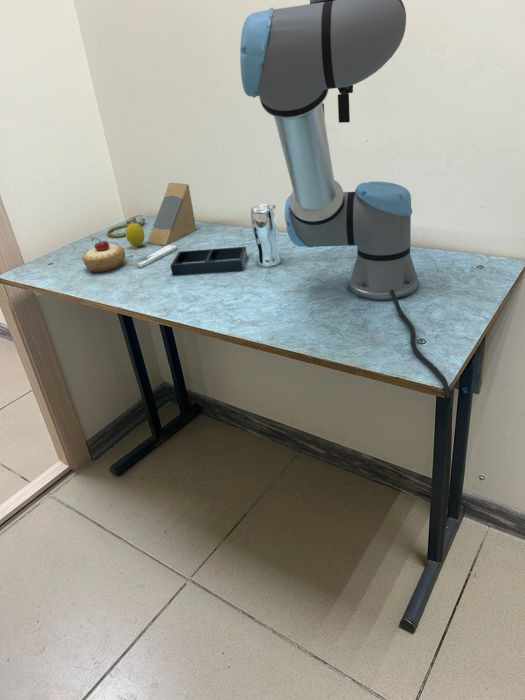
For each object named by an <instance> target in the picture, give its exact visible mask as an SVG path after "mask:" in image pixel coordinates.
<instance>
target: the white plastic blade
mask: <svg viewBox="0 0 525 700" xmlns="http://www.w3.org/2000/svg"><path fill="white" fill-rule="evenodd" d="M177 249H178V247H177V246H176V245H174V244H172V245H171V244H167V245H164V246H163V247H162V248H159V249H158V250H156V251H154V252H152V253H150V254H147V255H146V256H144V257H142V258H141V260H143V261H140V262H138V263H137V265H136V266H137V267H138V268H144V267H145V266H147V265H149V264H151V263H153V262H154V261H157V260H159V259H161V258H162V257H165V256H167V255H168V254H170V253H173V252H174V251H176V250H177ZM144 259H145V260H144Z"/></svg>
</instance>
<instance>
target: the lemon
mask: <svg viewBox="0 0 525 700" xmlns="http://www.w3.org/2000/svg"><path fill="white" fill-rule="evenodd" d="M125 233H126V236H125V238H126V240H127V242H128V243H129V244H130V245H131V246H134V247H136V248H140V246H141V245H142V244H143V243H144V242H145V231H144V229H143V227H142V225H139V223H136V222H134V223H133V222H131V224H129V225H127V227H125Z"/></svg>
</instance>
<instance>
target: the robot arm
mask: <svg viewBox="0 0 525 700" xmlns="http://www.w3.org/2000/svg"><path fill="white" fill-rule="evenodd" d="M406 27H407V11H406V8H405V4H404V2H403V0H309V3H308V4H302V5H294V6H288V7H281V8H274V7H269V9H266V10H265V9H264V10H261V11H260V10H259V11H254V12H251V13H250V14H249V15H248V16H247V17H246V18H245V19H244V22H243V25H242V28H241V29H242V30H241V36H240V47H239V48H240V50H239V63H240V76H241V77H240V78H241V85H242V88H243V92H244V94H245V95H246V96H248V97H252V98H256V97H259V101H260V104H261V107H262V109H263V110H264V112H266V113H267V114H269V115H270V116H272V117H273V118H274V122H275V125H276V128H277V133H278V137H279V141H280V145H281V149H282V153H283V157H284V161H285V164H286V167H287V168H286V169H287V172H288V175H289V180H290V183H291V187H292V191H291V193H290V195H289V196H288V197H287V198H286V201H285V204H284V221H285V224H286V232H287V236H288V237H289V240H290V241H291V242H292V244H293V245H295V246H296V247H306V248H318V247H347V246H349V247H350V246H356V247H357V248H356V249H357V256H356V260H355V263H354V266H353V269H352V272H351V276H350V279H349V283H350V285H349V286H350V290H351V292H352V293H353V294H355V295H356V296H358V297H361V298H364V299H367V300H374V301H393V303H394V306H395V309H396V311H397V313H398V315H399V316H400V318H401V319H402V321H403V322H404V323H405V325H406V326H407V327H408V330H409V332H410V347H411V349H412V352H413V354H414V355H415V357H417V359H419V360H420V361H421V363H423V364H424V365H426V367H428V368H429V369H430V370H431V371H432V373H433V374H434V375H435V376H436V377H437V378H438V380H439V381H440V382H441V385H442V386H443V390H444V394H445V397H446V398H452V393H451V392H452V391H451V388H450V386H449V382H448V380H447V378H446V377H445V375H444V374H443V373H442V372H441V371H440V370H439V369H438V367H437V366H436V365H435V364H433V363H432V362H431V361H430V360H429V359H428V358H426V357H425V355H423V354H422V353H421V352H420V350H419V348H418V347H417V342H416V329H415V327H414V325H413V323H412V322H411V321H410V319H409V318H408V317H407V315H406V314H405V313H404V311H403V309H402V308H401V305H400V301H399V300H398V299H401V298H405V297H408V296H409V295H411V294H413V293H414V292H415V291H416V290H417V288H418V281H419V280H418V274H417V271H416V268H415V264H414V262H413V259H412V256H411V231H412V230H411V228H412V227H411V226H412V224H411V223H412V221H411V220H412V214H413V208H412V195H411V193H410V191H409V189H407V188H406V187H405V186H403V185H401V184H397V183H395V182H394V183H393V182H389V181H368V182H361V183H359V184H357V185H356V187H355V189H354V191H344V190H343V187H342V186H341V184H340V183H339V182H338V181H337V180H336V179H335V176H334V170H333V164H332V157H331V151H330V145H329V139H328V138H329V137H328V132H327V125H326V118H325V117H326V116H325V103H324V101H325V100H326V98H327V96H328V93H329V90H331V89H332V90H333V89H337V91H338V92H339V93H338V94H337V110H338V111H337V114H338V123H339V124H340V123H342V124H343V123H344V124H345V123H350V121H351V117H350V113H351V112H350V94H353V93H354V86H355V85H357V84H359V83H361V82H363V81H366V80H367V79H368V78H369V77H371V76H373V75H374V74H375V73H377V72H378V71H379V70H380V69H382V68H383V67H384V66H385V65H386V63H388V61H390V60H391V58H392V57H393V56H394V54H396V52H397V51H398V49H399V47H400V45H401V43H402V42H403V39H404V37H405V33H406ZM445 443H446V445H445V447H446V449H445V468H444V470H445V471H444V483H443V496H442V506H441V507H442V508H441V519H440V529H439V541H438V551H437V553H438V554H437V561H438V563H442V562H443V557H444V545H445V536H446V526H447V525H446V524H447V515H448V505H449V496H450V495H449V494H450V484H451V483H450V482H451V472H452V471H451V469H452V448H453V447H452V444H453V408H447V409H446V442H445Z"/></svg>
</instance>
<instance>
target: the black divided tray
mask: <svg viewBox="0 0 525 700" xmlns="http://www.w3.org/2000/svg"><path fill="white" fill-rule="evenodd" d="M247 259H248V250H247V246H236V247H235V246H234V247H222V248H208V249H196V250H184V251H183V250H181V251H178V252H177V254H176V255H175V257H174V259H173V261H172V262H171V263H170V270H171V275H172V277H174V276H188V275H204V274H217V273H219V274H220V273H231V272H233V273H234V272H243V271H244V269H245V266H246V262H247Z"/></svg>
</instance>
